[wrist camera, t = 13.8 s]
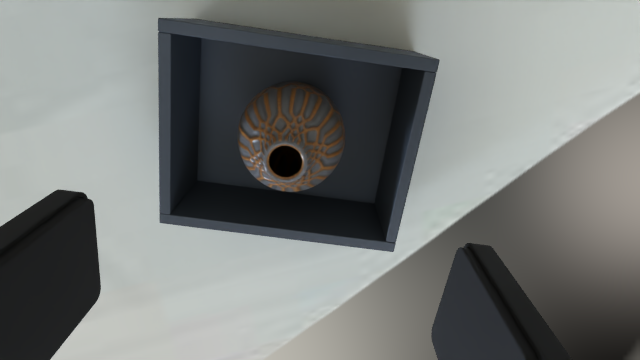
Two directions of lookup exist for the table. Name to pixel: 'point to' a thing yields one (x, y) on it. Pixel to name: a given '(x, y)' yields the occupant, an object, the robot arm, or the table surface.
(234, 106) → the dark grey open box
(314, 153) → the vase
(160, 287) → the table surface
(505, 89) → the table surface
